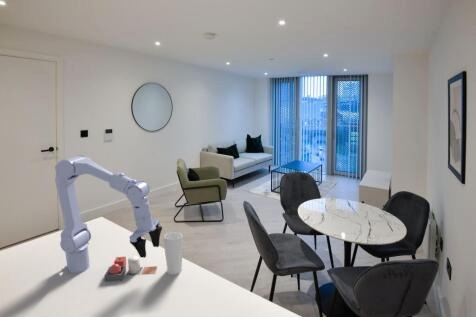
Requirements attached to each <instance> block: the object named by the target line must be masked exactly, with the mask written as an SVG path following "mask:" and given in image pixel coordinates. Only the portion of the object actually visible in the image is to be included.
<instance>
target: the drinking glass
mask: <svg viewBox="0 0 476 317" xmlns="http://www.w3.org/2000/svg"><path fill="white" fill-rule="evenodd" d="M183 240H184V239H183V234H182V233H181V232H178V231H172V232H167V233H166V234H164V236H163V246H164V254H165V261H166V271H167V274H168V275H172V276H173V275H179V274H180V273H182V271H183V268H182V267H183V264H182V263H183V252H184V251H183V250H184V249H183V248H184V247H183V246H184V242H183Z"/></svg>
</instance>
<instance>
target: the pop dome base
mask: <svg viewBox="0 0 476 317" xmlns="http://www.w3.org/2000/svg"><path fill="white" fill-rule="evenodd" d="M120 267H121V273H120V274H110V268H111V266H109V267H108V269H107V270H106V272H105V274H104V282H116V281H117V282H121V281H123V279H124V277H125V276H126V274H127V265H126V266H120Z"/></svg>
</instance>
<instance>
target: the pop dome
mask: <svg viewBox="0 0 476 317" xmlns="http://www.w3.org/2000/svg"><path fill="white" fill-rule="evenodd" d="M110 267H111V268H110V274H120V273H121V267H120V266H119V265H118V264H114V263H113V264H112V265H110Z"/></svg>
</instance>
